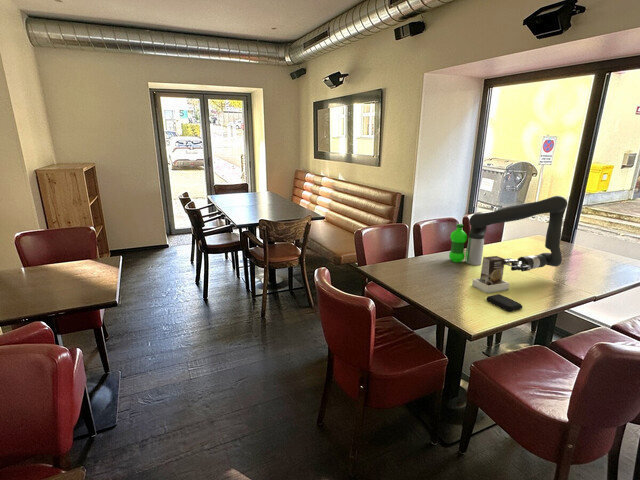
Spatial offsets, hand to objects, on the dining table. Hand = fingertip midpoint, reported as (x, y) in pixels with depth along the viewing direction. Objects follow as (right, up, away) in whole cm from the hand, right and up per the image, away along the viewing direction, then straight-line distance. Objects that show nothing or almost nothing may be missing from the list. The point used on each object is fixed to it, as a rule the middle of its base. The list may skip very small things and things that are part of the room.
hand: (505, 266), depth 189 cm
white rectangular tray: (-8, -12, 0) cm, 14 cm away
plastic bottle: (-10, 0, +44) cm, 45 cm away
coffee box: (-8, -11, 0) cm, 14 cm away
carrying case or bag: (-11, -18, -19) cm, 28 cm away
